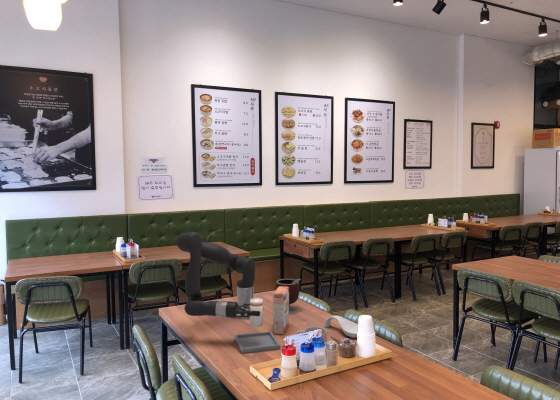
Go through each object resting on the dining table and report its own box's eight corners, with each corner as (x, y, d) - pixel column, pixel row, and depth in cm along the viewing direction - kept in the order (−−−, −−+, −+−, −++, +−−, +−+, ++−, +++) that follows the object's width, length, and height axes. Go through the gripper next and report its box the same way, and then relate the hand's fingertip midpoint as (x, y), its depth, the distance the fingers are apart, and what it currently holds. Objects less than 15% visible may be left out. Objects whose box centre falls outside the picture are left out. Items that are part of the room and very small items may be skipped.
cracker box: (284, 335, 219) (284, 293, 218) (272, 334, 221) (272, 293, 219) (289, 325, 233) (289, 286, 232) (278, 324, 234) (278, 285, 233)
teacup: (329, 344, 208) (329, 327, 207) (324, 353, 198) (324, 336, 197) (300, 340, 212) (300, 324, 212) (294, 349, 202) (294, 332, 202)
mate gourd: (270, 311, 255) (270, 277, 254) (283, 305, 267) (283, 272, 266) (294, 316, 247) (294, 281, 246) (306, 309, 259) (306, 276, 257)
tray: (234, 338, 215) (234, 334, 215) (270, 335, 219) (270, 331, 219) (241, 353, 197) (241, 349, 197) (280, 349, 202) (280, 345, 202)
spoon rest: (371, 336, 219) (371, 321, 218) (357, 342, 210) (357, 328, 210) (333, 324, 235) (333, 311, 235) (318, 329, 227) (318, 316, 226)
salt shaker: (248, 323, 210) (248, 298, 209) (261, 322, 211) (261, 297, 211) (251, 327, 204) (251, 302, 203) (264, 326, 205) (264, 301, 205)
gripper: (222, 306, 202) (258, 308, 199) (231, 297, 216) (264, 299, 214) (222, 322, 203) (258, 324, 200) (231, 312, 217) (264, 314, 214)
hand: (261, 311), depth 207 cm, fingers closed on salt shaker, 6 cm apart
